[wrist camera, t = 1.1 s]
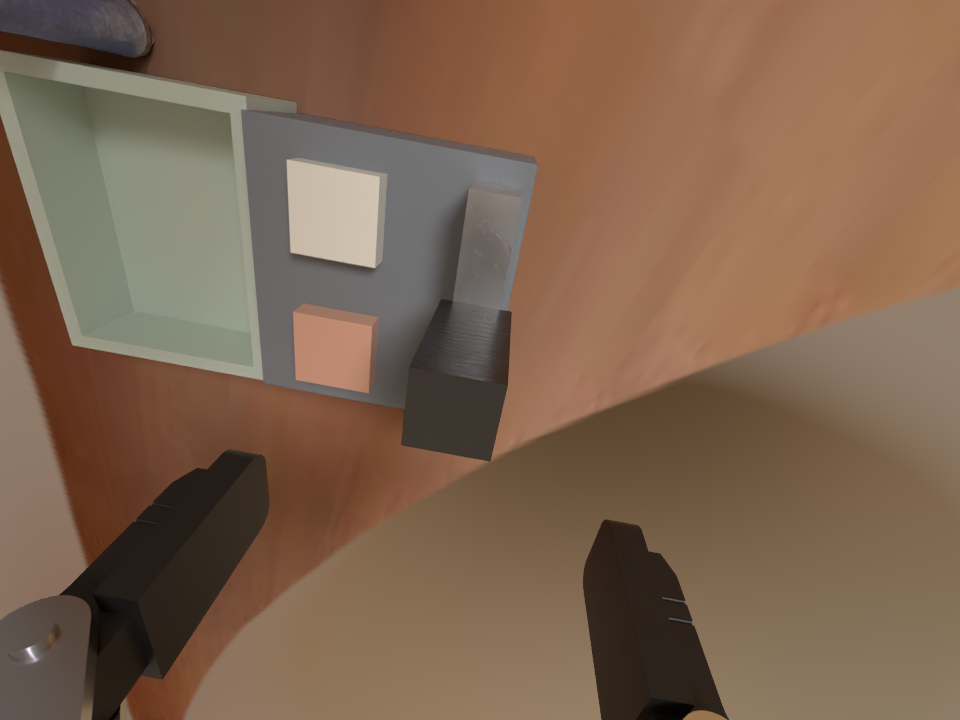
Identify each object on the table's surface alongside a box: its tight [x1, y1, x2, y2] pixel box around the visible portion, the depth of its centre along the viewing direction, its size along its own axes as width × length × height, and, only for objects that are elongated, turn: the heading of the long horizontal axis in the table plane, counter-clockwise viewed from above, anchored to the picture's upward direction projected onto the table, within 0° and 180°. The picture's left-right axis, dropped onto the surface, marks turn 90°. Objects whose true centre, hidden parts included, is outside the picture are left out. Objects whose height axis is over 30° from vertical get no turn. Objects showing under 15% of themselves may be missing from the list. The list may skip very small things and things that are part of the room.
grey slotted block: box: [241, 109, 538, 409], centre depth 25 cm, size 14×13×6 cm
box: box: [0, 50, 297, 380], centre depth 25 cm, size 15×12×5 cm
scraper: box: [401, 179, 522, 461], centre depth 18 cm, size 12×3×10 cm, turn 171°
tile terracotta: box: [293, 303, 379, 393], centre depth 23 cm, size 4×4×1 cm
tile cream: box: [287, 158, 387, 268], centre depth 20 cm, size 4×4×1 cm
